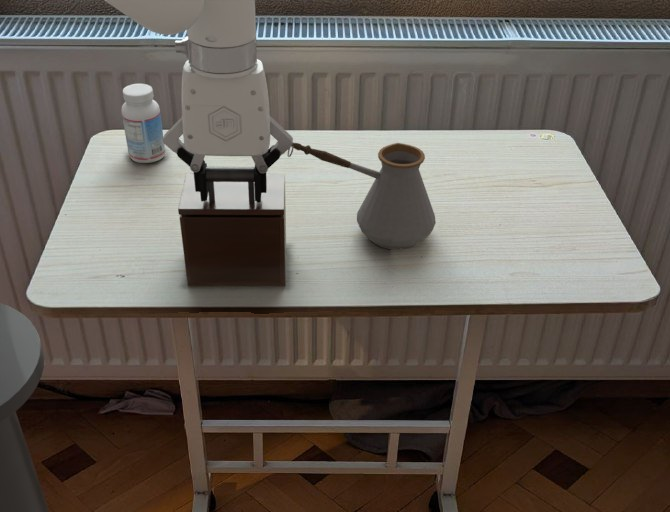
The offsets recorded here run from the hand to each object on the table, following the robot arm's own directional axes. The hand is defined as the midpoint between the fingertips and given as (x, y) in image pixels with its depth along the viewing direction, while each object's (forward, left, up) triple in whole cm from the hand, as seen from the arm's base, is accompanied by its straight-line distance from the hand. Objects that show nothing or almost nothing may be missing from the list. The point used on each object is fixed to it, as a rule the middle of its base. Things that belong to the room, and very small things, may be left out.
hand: (231, 195), depth 105 cm
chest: (+2, +2, -13) cm, 13 cm away
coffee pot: (+20, -5, -13) cm, 24 cm away
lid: (+2, +2, -2) cm, 3 cm away
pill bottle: (+12, +36, -13) cm, 41 cm away
